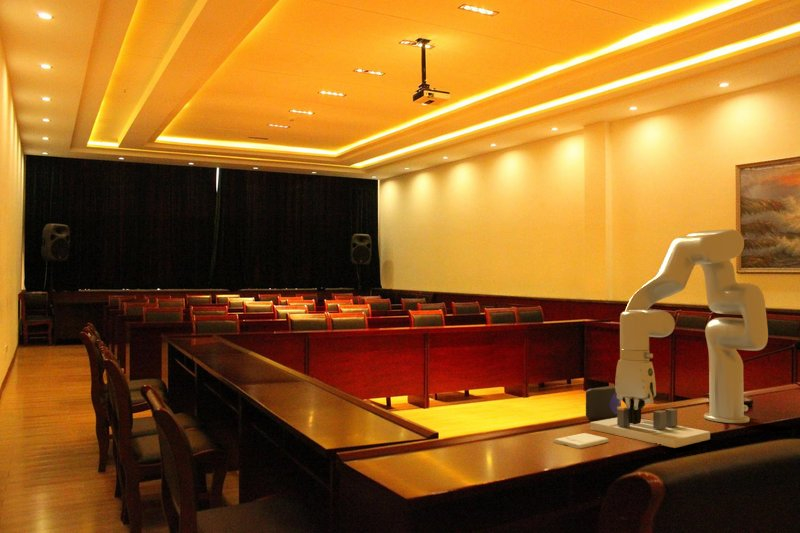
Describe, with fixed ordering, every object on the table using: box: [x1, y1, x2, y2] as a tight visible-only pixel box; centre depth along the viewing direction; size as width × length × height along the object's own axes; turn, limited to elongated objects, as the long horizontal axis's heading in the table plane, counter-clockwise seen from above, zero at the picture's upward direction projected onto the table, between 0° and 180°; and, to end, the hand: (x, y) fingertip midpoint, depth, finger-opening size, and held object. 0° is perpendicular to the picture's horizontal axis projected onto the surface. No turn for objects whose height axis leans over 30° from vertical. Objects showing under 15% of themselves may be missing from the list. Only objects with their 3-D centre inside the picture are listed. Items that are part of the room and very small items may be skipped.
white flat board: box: [589, 417, 711, 449], centre depth 180 cm, size 17×26×2 cm, turn 36°
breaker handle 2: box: [664, 407, 678, 427], centre depth 181 cm, size 3×2×4 cm, turn 126°
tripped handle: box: [616, 405, 630, 427], centre depth 180 cm, size 3×2×5 cm, turn 126°
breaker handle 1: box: [652, 409, 666, 429], centre depth 177 cm, size 3×2×4 cm, turn 126°
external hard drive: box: [552, 432, 609, 450], centre depth 170 cm, size 2×8×12 cm
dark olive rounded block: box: [585, 385, 622, 421], centre depth 203 cm, size 16×5×9 cm, turn 125°
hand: (634, 423), depth 177 cm, fingers closed
